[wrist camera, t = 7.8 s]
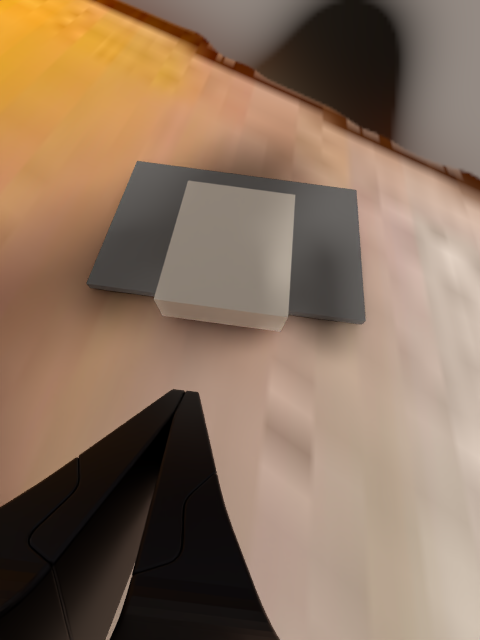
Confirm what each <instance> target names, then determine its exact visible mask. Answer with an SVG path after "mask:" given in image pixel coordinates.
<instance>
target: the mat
mask: <svg viewBox="0 0 480 640" xmlns="http://www.w3.org/2000/svg"><path fill="white" fill-rule="evenodd" d="M188 181H196V182H203V183H211V184H218V185H226V186H233V187H240V188H248V189H255V190H263V191H270V192H278V193H285V194H293V195H295V209H294V226H293V243H292V260H291V277H290V294H289V311H288V315H295V316H303V317H310V318H318V319H325V320H333V321H340V322H347V323H355V324H363V323H364V322H365V321H366V320H365V306H364V292H363V278H362V263H361V249H360V235H359V221H358V207H357V192H356V190H352V189H345V188H337V187H330V186H322V185H314V184H307V183H299V182H292V181H284V180H277V179H269V178H262V177H254V176H247V175H239V174H232V173H224V172H216V171H209V170H201V169H194V168H186V167H179V166H171V165H164V164H156V163H149V162H141V161H137V163H136V165H135V167H134V170H133V172H132V175H131V177H130V180H129V182H128V184H127V187H126V189H125V192H124V194H123V196H122V199H121V201H120V204H119V206H118V208H117V211H116V213H115V216H114V218H113V221H112V223H111V225H110V228H109V230H108V233H107V235H106V237H105V240H104V242H103V245H102V247H101V249H100V252H99V254H98V257H97V259H96V261H95V264H94V266H93V269H92V271H91V274H90V276H89V278H88V281H87V283H86V284H87V285H88V286H89V287H90V288H95V289H102V290H110V291H117V292H125V293H132V294H139V295H147V296H155V293H156V289H157V286H158V282H159V279H160V276H161V272H162V269H163V265H164V262H165V258H166V255H167V251H168V248H169V245H170V241H171V238H172V234H173V231H174V227H175V224H176V220H177V217H178V214H179V210H180V207H181V203H182V200H183V196H184V193H185V189H186V186H187V183H188Z"/></svg>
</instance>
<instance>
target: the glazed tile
mask: <svg viewBox="0 0 480 640" xmlns="http://www.w3.org/2000/svg"><path fill="white" fill-rule="evenodd" d="M294 209H295V195H293V194H285V193H278V192H270V191H263V190H255V189H248V188H240V187H233V186H226V185H218V184H211V183H203V182H196V181H188V183H187V186H186V189H185V193H184V196H183V200H182V203H181V207H180V210H179V214H178V217H177V220H176V224H175V227H174V231H173V234H172V238H171V241H170V245H169V248H168V251H167V255H166V258H165V262H164V265H163V269H162V272H161V276H160V279H159V282H158V286H157V289H156V293H155V296H154V301H155V303H156V304H157V306H158V308H159V310H160V312H161V314H162V316H168V317H175V318H183V319H190V320H198V321H205V322H212V323H220V324H227V325H234V326H242V327H249V328H256V329H264V330H271V331H278V332H281V330H282V328H283V326H284V324H285V322H286V320H287V318H288V311H289V294H290V277H291V260H292V243H293V226H294Z"/></svg>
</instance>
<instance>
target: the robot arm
mask: <svg viewBox="0 0 480 640" xmlns="http://www.w3.org/2000/svg"><path fill="white" fill-rule="evenodd" d="M134 563H135V565H134ZM133 566H134V569H133ZM132 569H133V573H132V578H131V581H130V585H129V588H128V592H127V595H126V599H125V602H124V605H123V608H122V611H121V614H120V617H119V619H118V622H117V624H116V627H115V629H114V631H113V633H112V636H111V638H110V640H280V639H279V637H278V636H277V634H276V632H275V631H274V629H273V627H272V625H271V623H270V621H269V619H268V617H267V615H266V613H265V610H264V608H263V606H262V603H261V601H260V599H259V596H258V594H257V591H256V589H255V586H254V583H253V581H252V578H251V576H250V573H249V570H248V568H247V565H246V562H245V560H244V557H243V554H242V552H241V549H240V546H239V544H238V541H237V538H236V536H235V533H234V531H233V528H232V525H231V522H230V519H229V516H228V513H227V510H226V507H225V504H224V500H223V496H222V492H221V488H220V484H219V480H218V475H217V472H216V467H215V463H214V458H213V454H212V449H211V445H210V440H209V436H208V432H207V427H206V423H205V418H204V414H203V409H202V405H201V400H200V396H199V393H198V392H193V391H186V392H185V391H184V390H176V389H173V390H171V391H169V392H168V393H166V394H165V395H164V396H162V397H161V398H159V399H158V400H157V401H155V402H154V403H152V404H151V405H150V406H148V407H147V408H145V409H144V410H142V411H141V412H140V413H138V414H137V415H135V416H134V417H133V418H131V419H130V420H128V421H127V422H126V423H124V424H123V425H121V426H120V427H118V428H117V429H116V430H114V431H113V432H111V433H110V434H109V435H107V436H106V437H104V438H103V439H102V440H100V441H99V442H97V443H96V444H94V445H93V446H92V447H90V448H89V449H87V450H86V451H85V452H83V453H82V454H80V455H79V458H78V457H76V458H75V459H73V460H72V461H70V462H69V463H67V464H66V465H65V466H63V467H62V468H60V469H59V470H57V471H56V472H54V473H53V474H51V475H50V476H49V477H47V478H46V479H44V480H43V481H41V482H40V483H38V484H37V485H35V486H33V487H32V488H30V489H29V490H27V491H25V492H24V493H22V494H21V495H19V496H18V497H16V498H14V499H13V500H11V501H10V502H8V503H6V504H5V505H3V506H1V507H0V640H105V639H106V637H107V634H108V631H109V629H110V626H111V624H112V621H113V618H114V616H115V613H116V610H117V608H118V605H119V603H120V600H121V597H122V595H123V592H124V590H125V587H126V584H127V582H128V579H129V577H130V574H131V571H132Z"/></svg>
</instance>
